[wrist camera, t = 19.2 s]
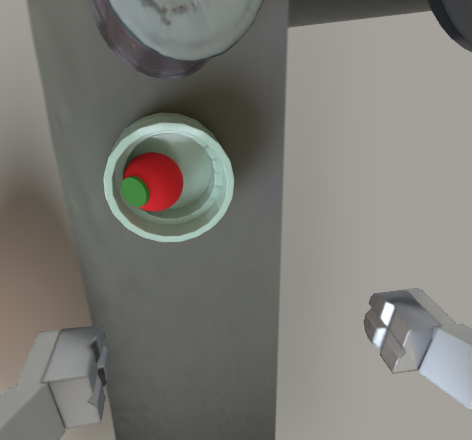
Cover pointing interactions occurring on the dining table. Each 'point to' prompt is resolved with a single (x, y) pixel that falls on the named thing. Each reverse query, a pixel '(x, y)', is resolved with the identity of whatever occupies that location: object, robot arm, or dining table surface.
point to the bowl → (193, 170)
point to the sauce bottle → (172, 31)
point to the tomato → (152, 182)
